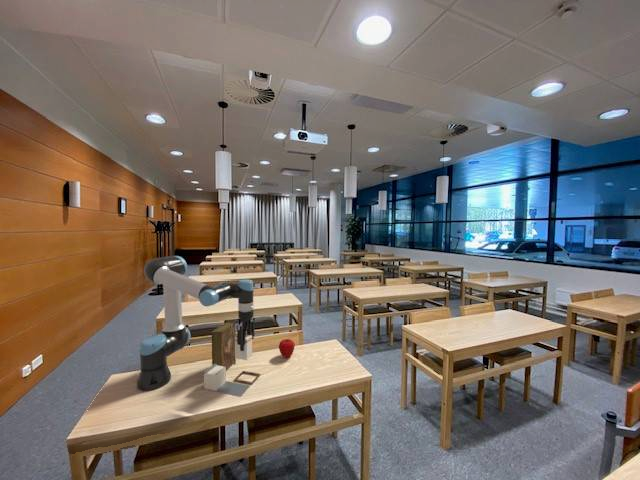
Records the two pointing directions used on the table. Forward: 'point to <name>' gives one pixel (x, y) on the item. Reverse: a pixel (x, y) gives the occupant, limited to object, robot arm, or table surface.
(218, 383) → the pad
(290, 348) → the apple
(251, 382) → the tray
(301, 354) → the table surface
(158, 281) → the robot arm
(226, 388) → the board
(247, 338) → the stub
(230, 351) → the book
